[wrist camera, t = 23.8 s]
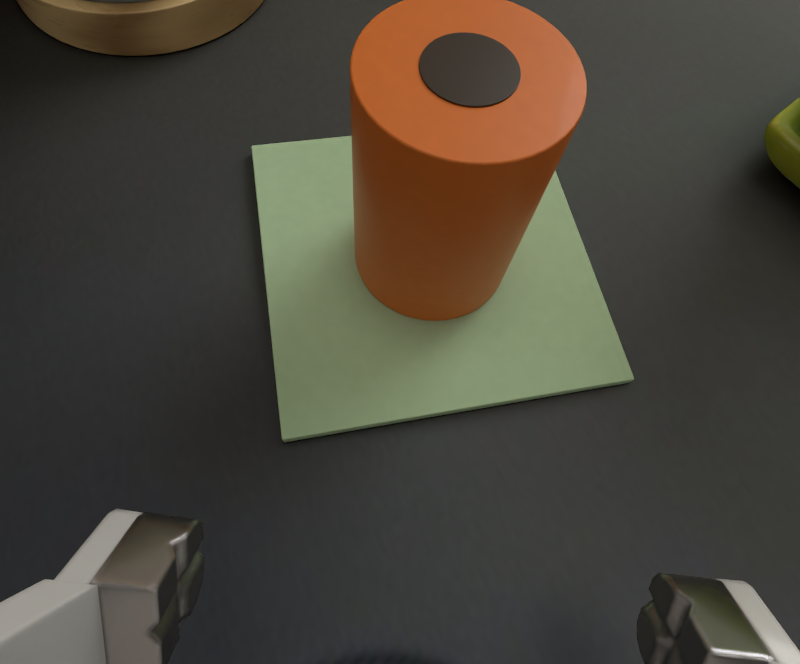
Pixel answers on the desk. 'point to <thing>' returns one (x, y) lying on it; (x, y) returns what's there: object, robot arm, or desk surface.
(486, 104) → the orange cylinder piece
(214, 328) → the desk surface
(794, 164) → the flower pot
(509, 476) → the desk surface
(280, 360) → the green mat
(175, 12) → the stacking tower
